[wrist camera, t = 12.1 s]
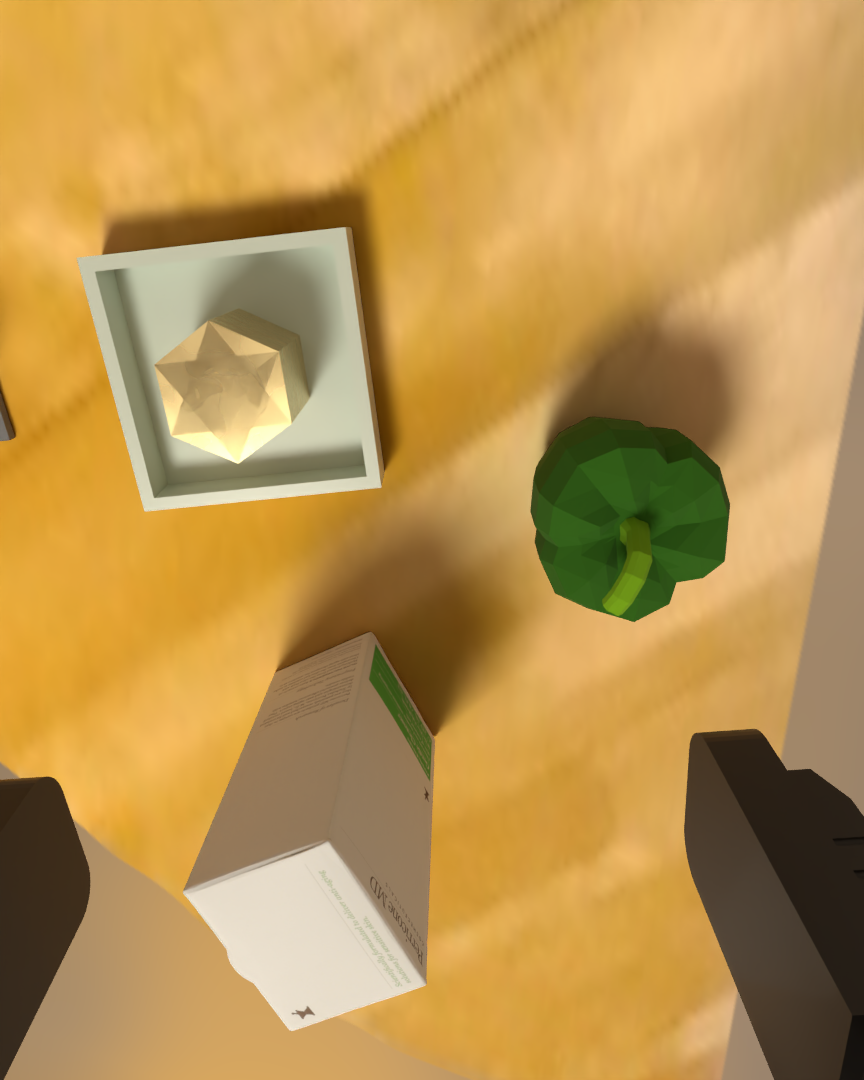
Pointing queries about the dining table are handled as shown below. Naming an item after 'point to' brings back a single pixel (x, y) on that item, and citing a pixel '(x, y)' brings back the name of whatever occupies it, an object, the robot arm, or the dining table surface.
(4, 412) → the mat
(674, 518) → the bell pepper
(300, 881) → the skincare box
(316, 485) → the sage parts tray
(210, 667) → the dining table surface
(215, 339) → the yellow faceted hexagonal block
